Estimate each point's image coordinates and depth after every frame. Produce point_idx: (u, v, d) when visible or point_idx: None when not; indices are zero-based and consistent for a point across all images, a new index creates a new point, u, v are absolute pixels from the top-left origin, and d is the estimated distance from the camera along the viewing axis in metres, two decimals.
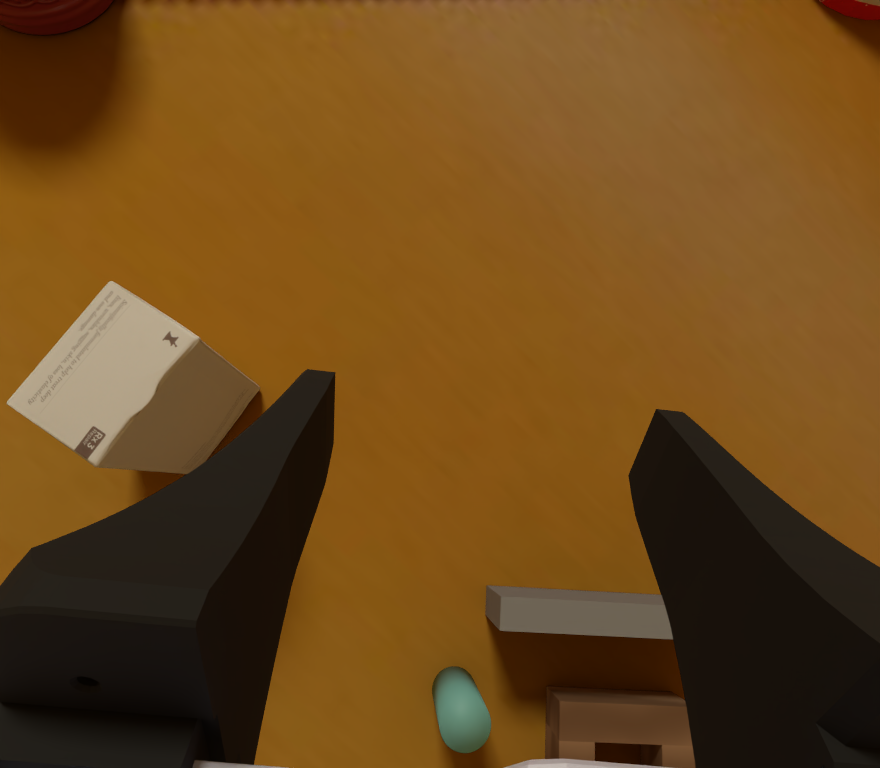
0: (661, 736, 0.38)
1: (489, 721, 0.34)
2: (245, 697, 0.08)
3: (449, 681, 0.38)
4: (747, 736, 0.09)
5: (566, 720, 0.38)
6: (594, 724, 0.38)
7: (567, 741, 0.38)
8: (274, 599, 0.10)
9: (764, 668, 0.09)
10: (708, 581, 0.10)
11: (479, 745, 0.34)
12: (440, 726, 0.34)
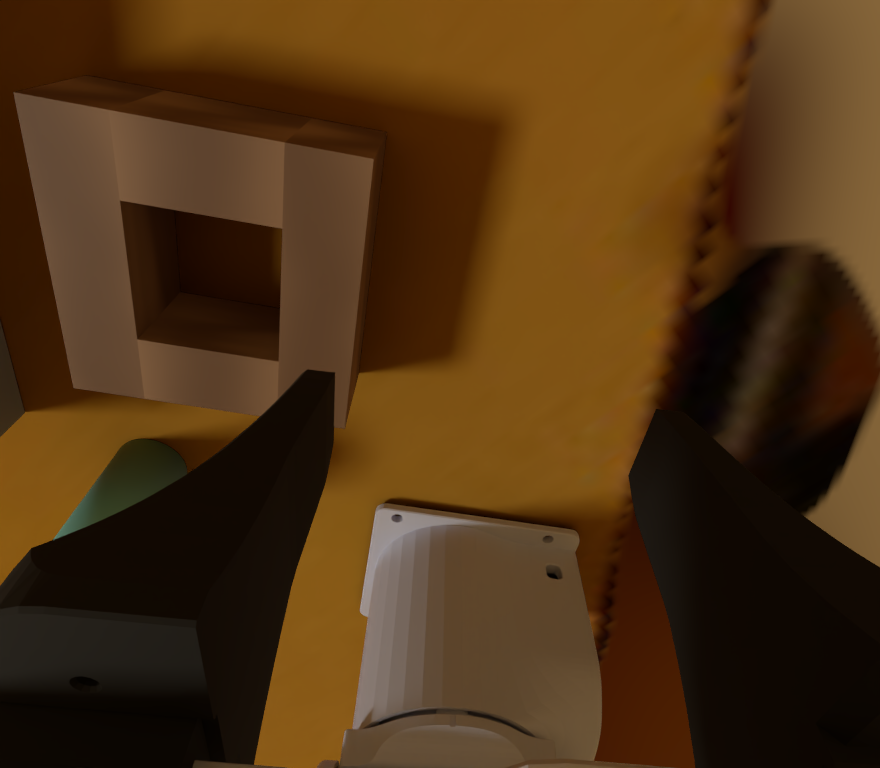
0: (101, 198, 0.16)
1: None
2: (245, 697, 0.08)
3: None
4: (747, 736, 0.09)
5: (105, 382, 0.20)
6: (102, 334, 0.19)
7: (143, 386, 0.20)
8: (274, 599, 0.10)
9: (764, 668, 0.09)
10: (708, 581, 0.10)
11: None
12: None
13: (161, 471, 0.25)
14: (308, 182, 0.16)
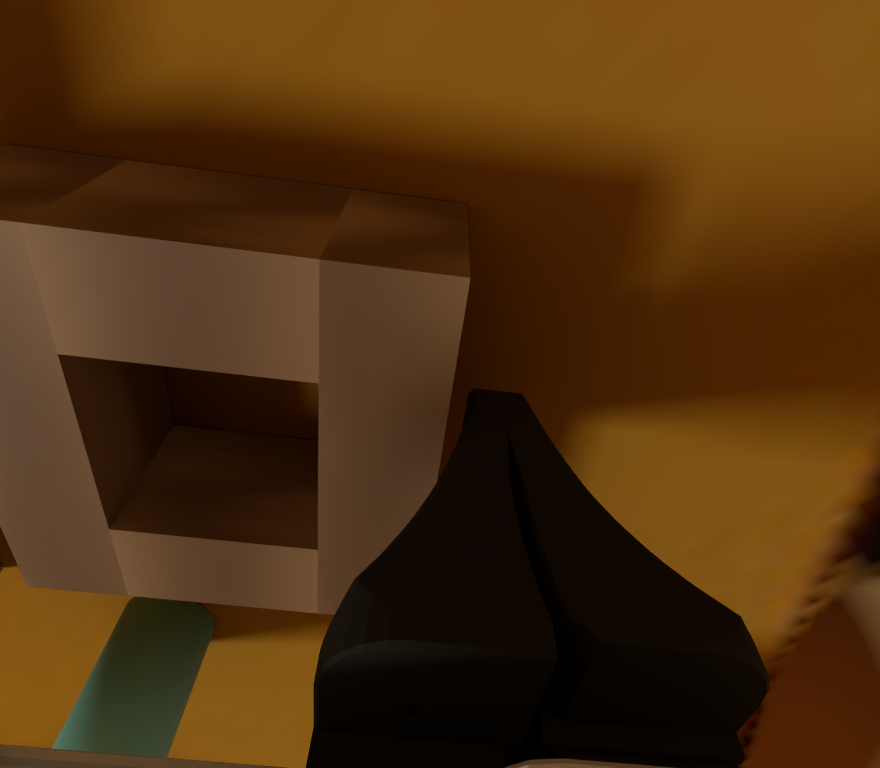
0: (28, 352, 0.10)
1: None
2: None
3: None
4: None
5: (71, 578, 0.14)
6: (58, 524, 0.13)
7: (125, 582, 0.14)
8: None
9: None
10: None
11: None
12: None
13: (181, 640, 0.19)
14: (359, 317, 0.10)
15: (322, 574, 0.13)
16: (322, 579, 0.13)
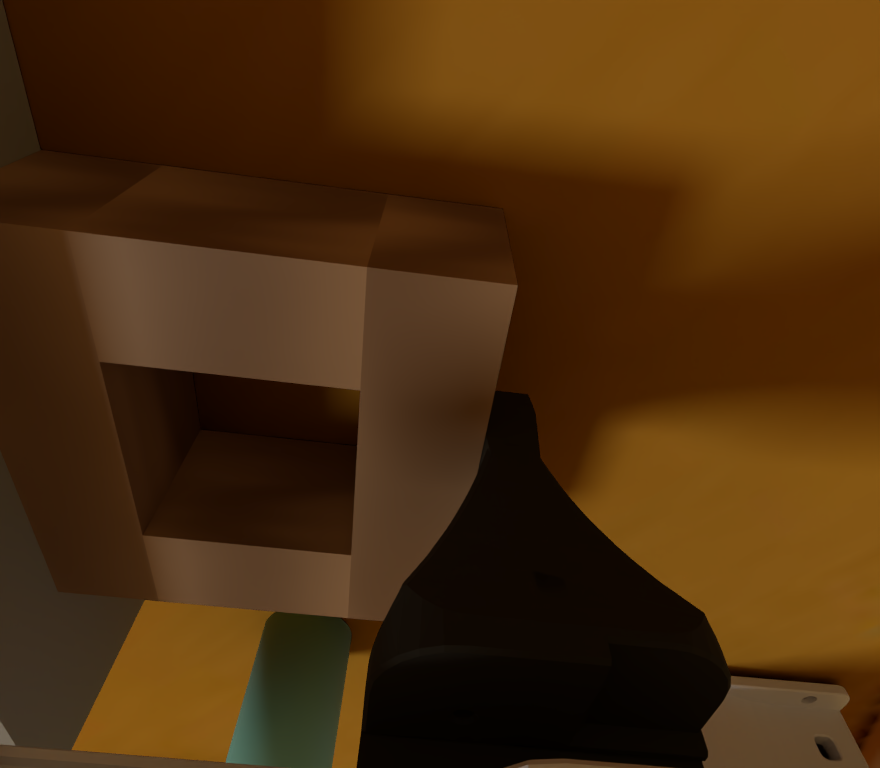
0: (69, 359, 0.10)
1: None
2: None
3: None
4: None
5: (102, 584, 0.14)
6: (91, 531, 0.12)
7: (156, 587, 0.14)
8: None
9: None
10: None
11: None
12: None
13: (331, 655, 0.19)
14: (404, 323, 0.09)
15: (354, 579, 0.13)
16: (354, 584, 0.13)
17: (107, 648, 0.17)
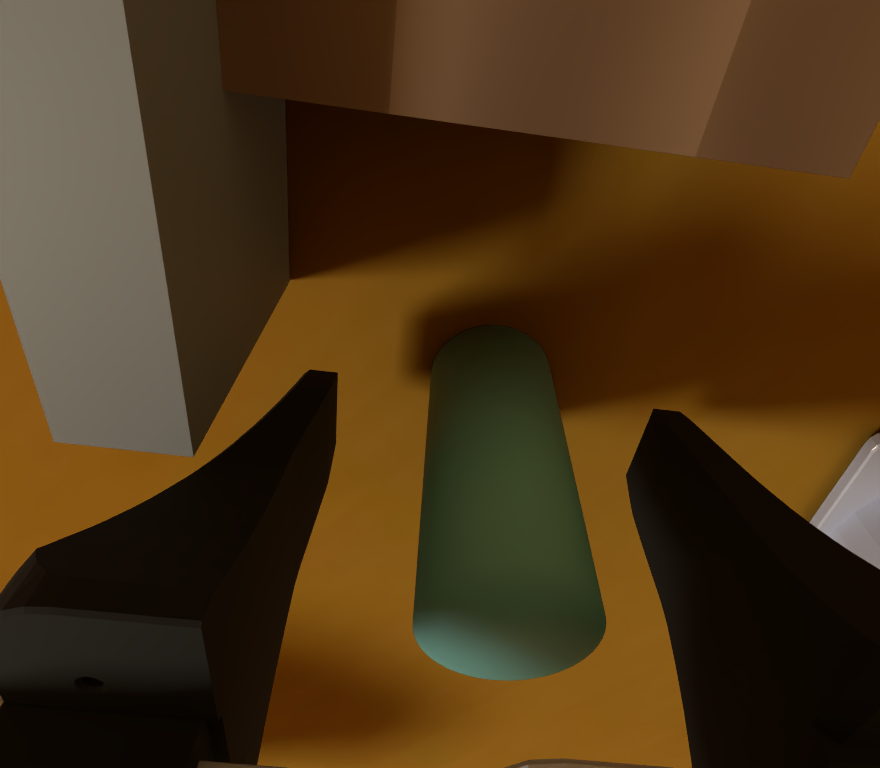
0: None
1: (512, 572, 0.08)
2: (249, 697, 0.08)
3: None
4: (743, 736, 0.09)
5: (302, 65, 0.08)
6: None
7: (393, 73, 0.08)
8: (277, 599, 0.10)
9: (760, 668, 0.09)
10: (705, 581, 0.10)
11: (590, 602, 0.09)
12: (502, 676, 0.10)
13: (545, 376, 0.13)
14: None
15: (745, 39, 0.08)
16: (740, 55, 0.08)
17: (254, 302, 0.11)
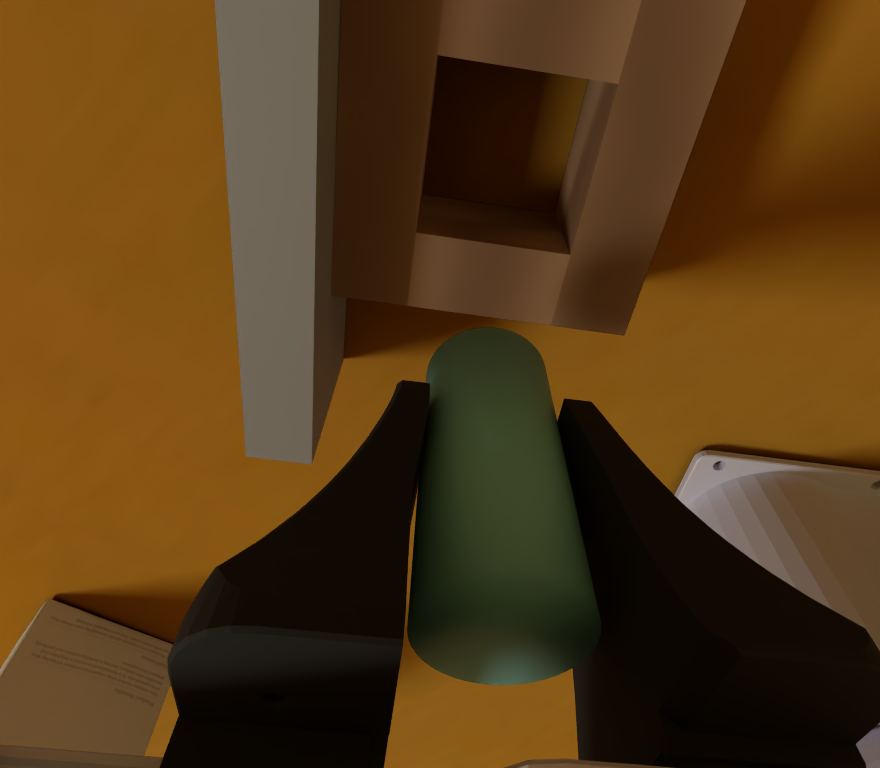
0: (416, 53, 0.14)
1: (507, 577, 0.08)
2: None
3: None
4: (613, 725, 0.09)
5: (368, 287, 0.18)
6: (378, 227, 0.17)
7: (409, 291, 0.18)
8: None
9: (627, 656, 0.09)
10: (594, 570, 0.10)
11: (585, 607, 0.09)
12: (498, 680, 0.10)
13: (541, 378, 0.13)
14: (664, 20, 0.14)
15: (566, 281, 0.17)
16: (565, 287, 0.17)
17: (331, 381, 0.21)
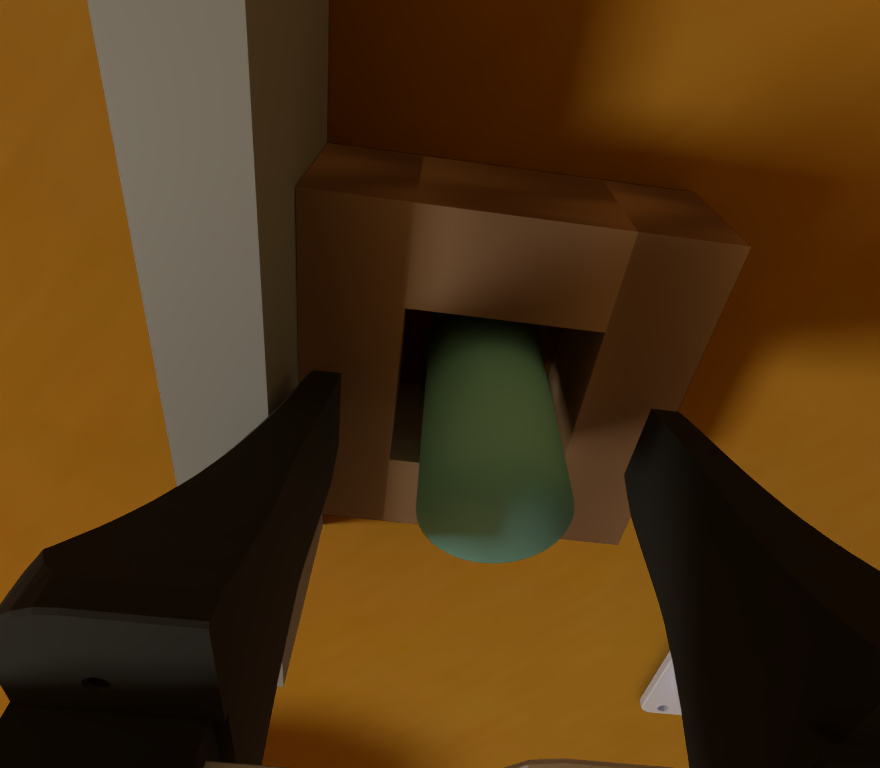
0: (382, 306, 0.13)
1: (496, 456, 0.10)
2: (254, 698, 0.08)
3: None
4: (740, 736, 0.09)
5: (340, 504, 0.16)
6: (348, 455, 0.15)
7: (385, 508, 0.16)
8: (282, 600, 0.10)
9: (757, 668, 0.09)
10: (702, 581, 0.10)
11: (561, 485, 0.11)
12: (491, 559, 0.12)
13: None
14: (655, 277, 0.12)
15: None
16: None
17: (307, 571, 0.19)
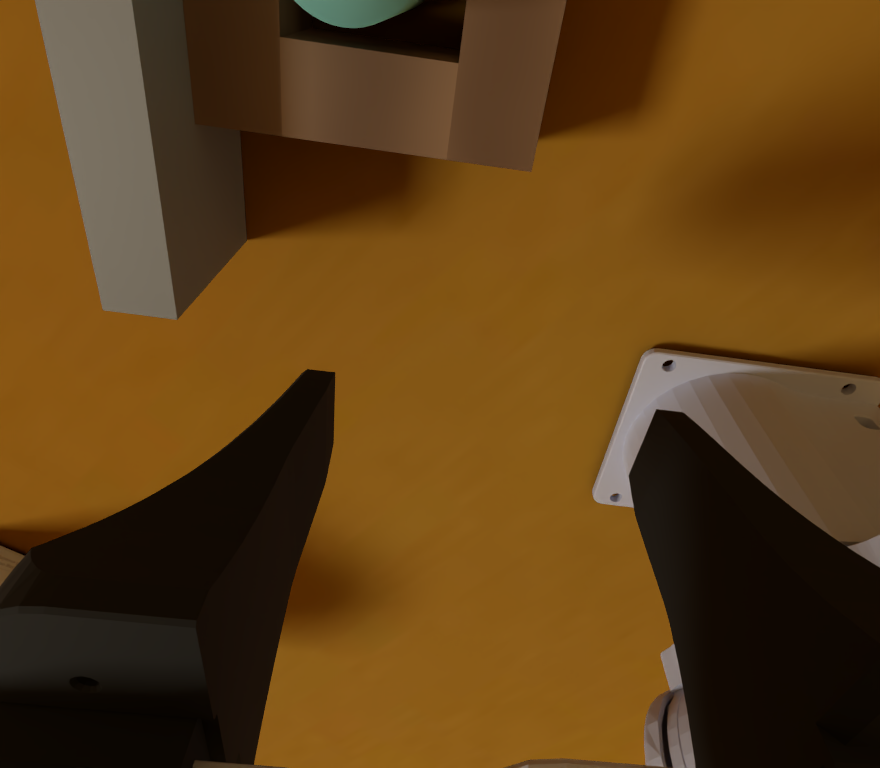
0: None
1: None
2: (245, 697, 0.08)
3: None
4: (747, 736, 0.09)
5: (235, 111, 0.15)
6: (236, 31, 0.14)
7: (282, 115, 0.15)
8: (274, 599, 0.10)
9: (764, 668, 0.09)
10: (708, 581, 0.10)
11: None
12: (353, 24, 0.11)
13: None
14: None
15: (458, 100, 0.15)
16: (457, 107, 0.15)
17: (218, 245, 0.18)
